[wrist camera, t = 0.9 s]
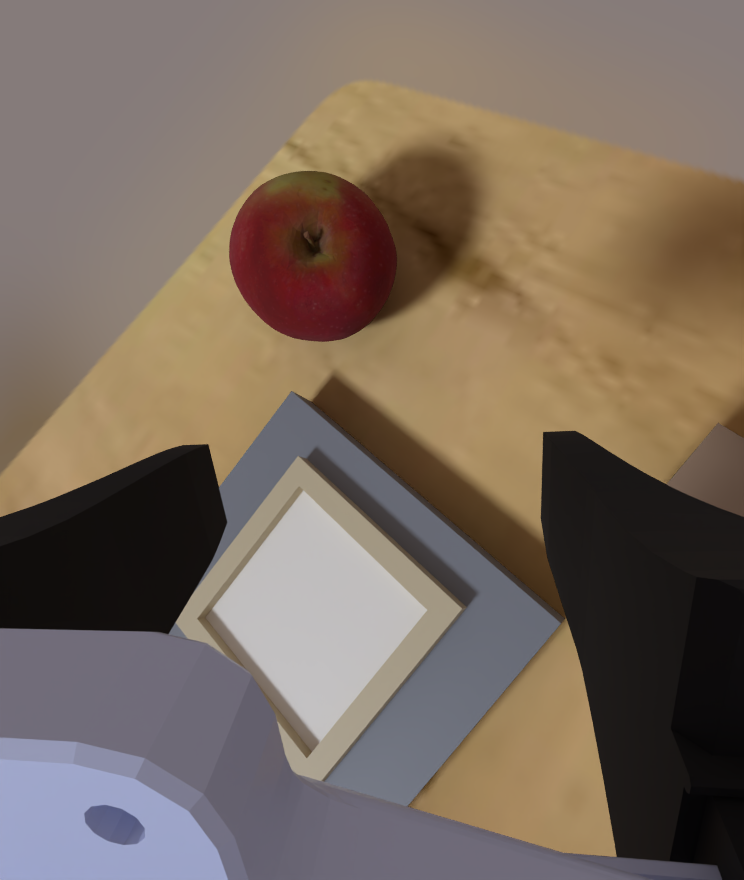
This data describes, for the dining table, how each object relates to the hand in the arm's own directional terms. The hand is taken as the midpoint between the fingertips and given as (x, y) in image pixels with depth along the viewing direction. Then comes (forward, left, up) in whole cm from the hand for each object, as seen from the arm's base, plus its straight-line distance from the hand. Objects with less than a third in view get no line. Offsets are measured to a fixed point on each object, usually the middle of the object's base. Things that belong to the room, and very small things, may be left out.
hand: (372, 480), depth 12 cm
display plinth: (+3, +8, -14) cm, 17 cm away
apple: (+13, -4, -14) cm, 20 cm away
